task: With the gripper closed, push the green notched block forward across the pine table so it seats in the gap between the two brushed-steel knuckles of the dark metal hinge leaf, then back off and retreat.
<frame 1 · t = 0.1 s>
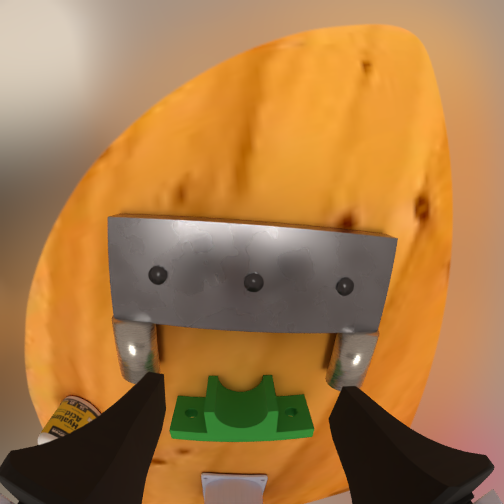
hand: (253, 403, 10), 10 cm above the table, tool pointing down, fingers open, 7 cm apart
supplement bottle: (84, 410, 22), on the table
fixed leaf: (249, 309, 19), on the table
green notched block: (241, 390, 22), on the table
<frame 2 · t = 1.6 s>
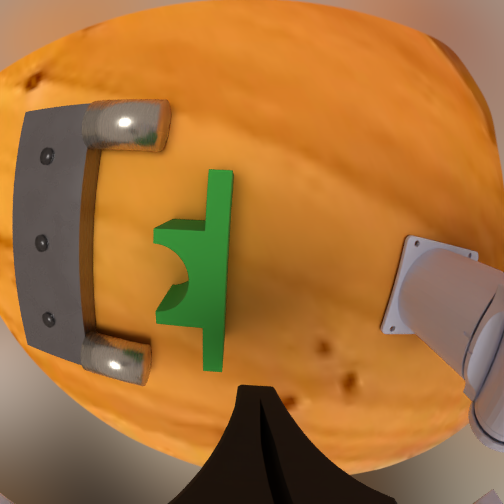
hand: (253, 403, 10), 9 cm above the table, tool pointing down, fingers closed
fixed leaf: (85, 242, 17), on the table
green notched block: (202, 257, 18), on the table
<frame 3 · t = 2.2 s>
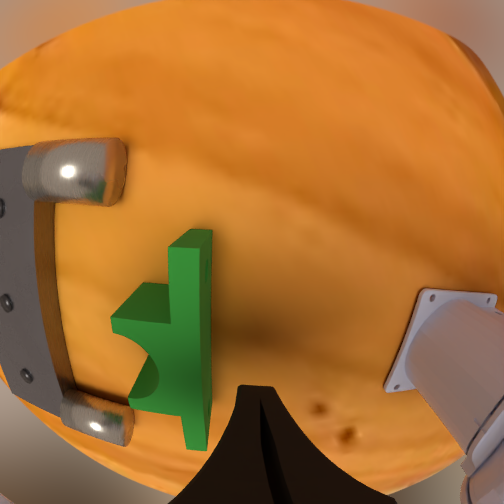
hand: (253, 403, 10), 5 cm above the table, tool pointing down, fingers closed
fixed leaf: (51, 300, 14), on the table
green notched block: (181, 324, 15), on the table
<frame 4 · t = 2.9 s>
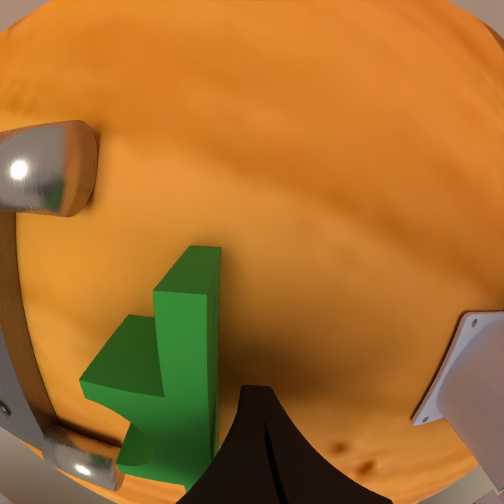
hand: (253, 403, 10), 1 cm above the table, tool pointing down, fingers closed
fixed leaf: (20, 328, 10), on the table
green notched block: (179, 366, 11), on the table, touching gripper
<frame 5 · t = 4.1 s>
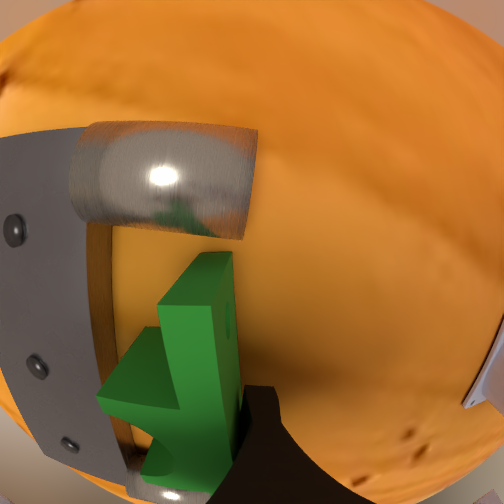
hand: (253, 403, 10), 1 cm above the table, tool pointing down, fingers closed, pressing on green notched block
fixed leaf: (104, 359, 11), on the table
green notched block: (201, 374, 11), on the table, touching gripper
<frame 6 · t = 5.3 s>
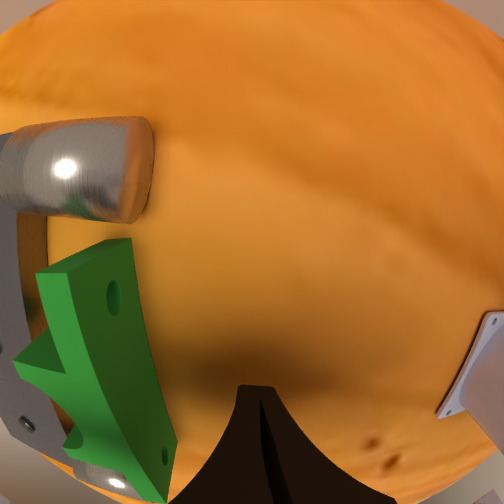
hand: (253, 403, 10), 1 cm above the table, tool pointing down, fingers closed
fixed leaf: (48, 341, 10), on the table
green notched block: (120, 357, 11), on the table
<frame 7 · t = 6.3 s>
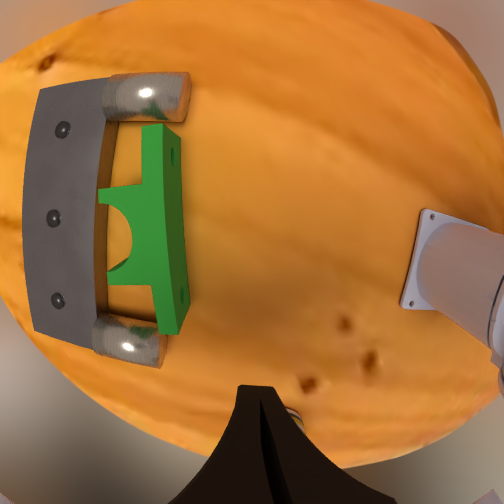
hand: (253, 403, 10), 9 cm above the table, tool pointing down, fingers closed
fixed leaf: (99, 218, 17), on the table
green notched block: (159, 222, 18), on the table
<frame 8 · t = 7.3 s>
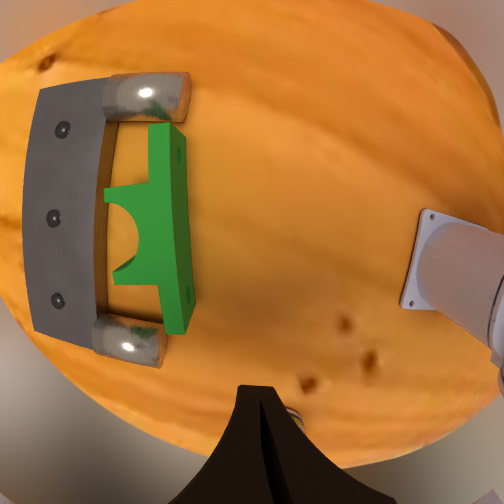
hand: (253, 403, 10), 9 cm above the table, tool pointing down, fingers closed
fixed leaf: (99, 218, 17), on the table
green notched block: (164, 222, 18), on the table
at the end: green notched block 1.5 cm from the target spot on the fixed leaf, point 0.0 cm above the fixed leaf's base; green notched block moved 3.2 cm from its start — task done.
